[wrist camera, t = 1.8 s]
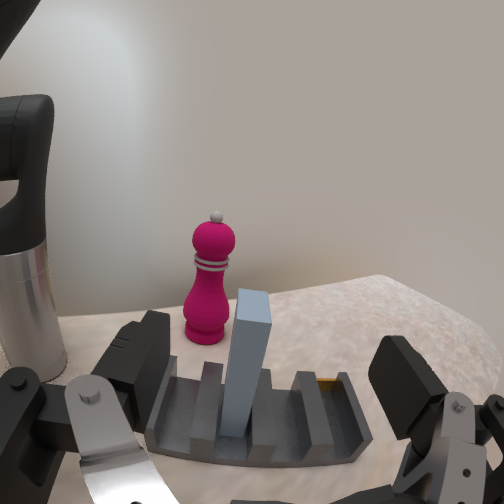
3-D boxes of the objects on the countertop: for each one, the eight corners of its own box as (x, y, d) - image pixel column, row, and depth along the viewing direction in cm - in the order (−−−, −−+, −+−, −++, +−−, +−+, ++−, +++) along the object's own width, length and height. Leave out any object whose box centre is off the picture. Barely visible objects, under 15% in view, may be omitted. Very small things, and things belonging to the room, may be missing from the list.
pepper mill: (220, 321, 47) (236, 208, 41) (231, 346, 41) (250, 219, 35) (180, 321, 45) (188, 204, 39) (185, 347, 39) (194, 214, 32)
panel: (218, 435, 23) (236, 319, 19) (222, 401, 28) (239, 288, 24) (243, 437, 23) (271, 323, 19) (243, 404, 28) (267, 292, 24)
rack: (147, 450, 21) (141, 426, 19) (169, 380, 31) (168, 352, 30) (353, 462, 22) (373, 439, 20) (333, 396, 33) (346, 370, 31)
